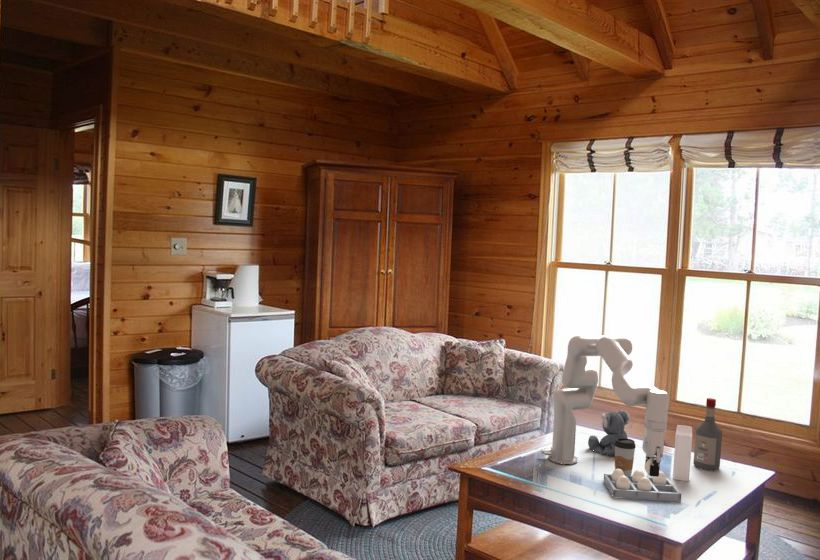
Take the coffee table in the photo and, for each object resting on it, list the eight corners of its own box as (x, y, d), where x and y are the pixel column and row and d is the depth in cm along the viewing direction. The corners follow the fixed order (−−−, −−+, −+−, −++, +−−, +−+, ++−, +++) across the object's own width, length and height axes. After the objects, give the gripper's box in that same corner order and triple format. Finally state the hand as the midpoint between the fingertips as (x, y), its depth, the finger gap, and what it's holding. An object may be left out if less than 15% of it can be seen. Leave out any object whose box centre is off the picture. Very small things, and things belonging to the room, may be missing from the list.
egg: (646, 476, 250) (647, 460, 250) (642, 471, 255) (643, 455, 255) (660, 477, 250) (662, 461, 249) (656, 472, 255) (658, 456, 255)
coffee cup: (608, 475, 285) (611, 440, 284) (618, 471, 291) (620, 436, 290) (627, 481, 279) (630, 445, 278) (637, 476, 285) (639, 440, 284)
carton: (613, 497, 261) (614, 479, 261) (603, 481, 278) (604, 464, 278) (681, 501, 260) (682, 483, 259) (667, 485, 277) (668, 468, 276)
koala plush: (614, 445, 328) (617, 404, 326) (641, 457, 311) (644, 414, 310) (584, 448, 321) (587, 407, 319) (610, 461, 304) (613, 417, 303)
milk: (672, 474, 290) (676, 422, 288) (688, 477, 288) (691, 424, 286) (673, 479, 284) (676, 426, 282) (689, 481, 282) (692, 428, 281)
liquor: (712, 472, 294) (717, 402, 292) (691, 466, 301) (696, 398, 299) (721, 468, 301) (726, 400, 298) (700, 462, 307) (705, 395, 305)
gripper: (638, 417, 260) (635, 464, 261) (651, 430, 243) (647, 481, 244) (659, 418, 259) (655, 465, 261) (673, 432, 242) (669, 482, 244)
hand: (651, 472), depth 253 cm, fingers closed on egg, 5 cm apart
